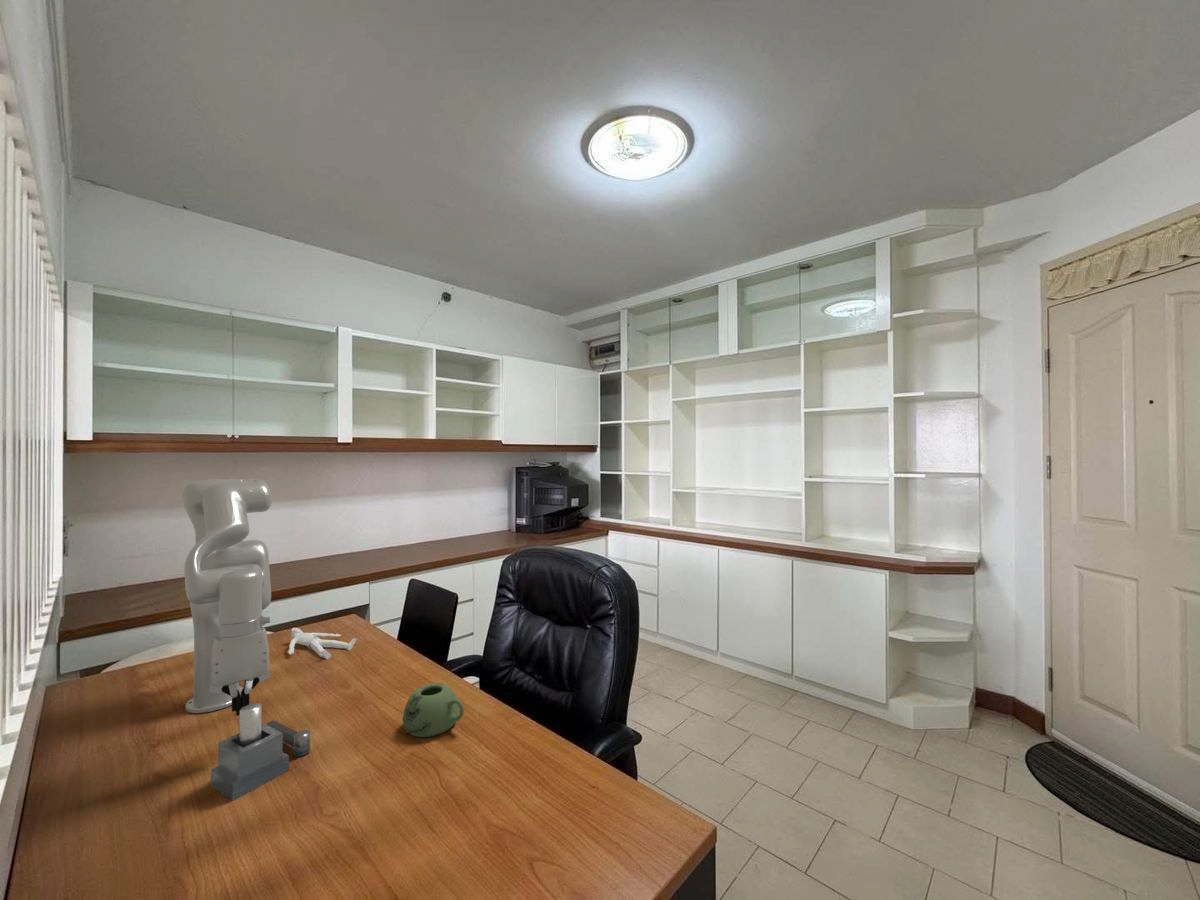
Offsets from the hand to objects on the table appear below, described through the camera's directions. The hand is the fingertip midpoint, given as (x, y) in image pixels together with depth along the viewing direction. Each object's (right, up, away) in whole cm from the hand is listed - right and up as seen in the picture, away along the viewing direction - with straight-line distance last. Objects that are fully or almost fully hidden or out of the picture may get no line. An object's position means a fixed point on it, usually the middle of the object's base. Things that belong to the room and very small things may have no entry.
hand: (240, 712), depth 102 cm
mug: (+39, -10, +11) cm, 42 cm away
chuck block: (+8, -9, -7) cm, 14 cm away
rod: (+7, -6, -7) cm, 12 cm away
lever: (+7, -9, +4) cm, 13 cm away
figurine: (-20, -12, +59) cm, 64 cm away
